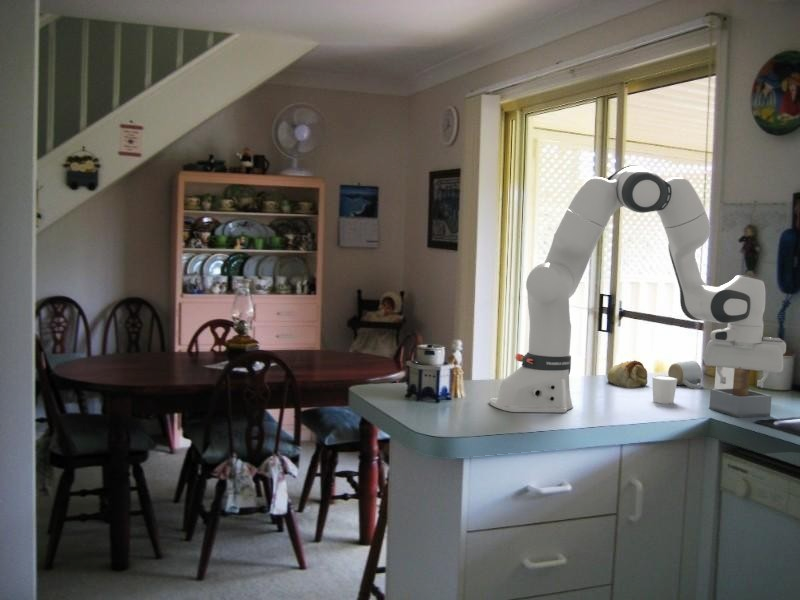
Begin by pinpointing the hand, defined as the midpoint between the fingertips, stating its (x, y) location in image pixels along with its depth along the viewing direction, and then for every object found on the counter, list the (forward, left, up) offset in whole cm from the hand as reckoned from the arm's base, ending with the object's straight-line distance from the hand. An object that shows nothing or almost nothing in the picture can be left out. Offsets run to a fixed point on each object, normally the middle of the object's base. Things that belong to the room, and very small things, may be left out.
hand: (741, 385), depth 233 cm
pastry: (-7, +43, -8) cm, 44 cm away
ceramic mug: (+12, +37, -8) cm, 40 cm away
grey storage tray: (0, 0, -8) cm, 8 cm away
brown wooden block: (0, 0, -7) cm, 7 cm away
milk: (+15, +22, -8) cm, 28 cm away
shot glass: (-13, +16, -8) cm, 22 cm away
